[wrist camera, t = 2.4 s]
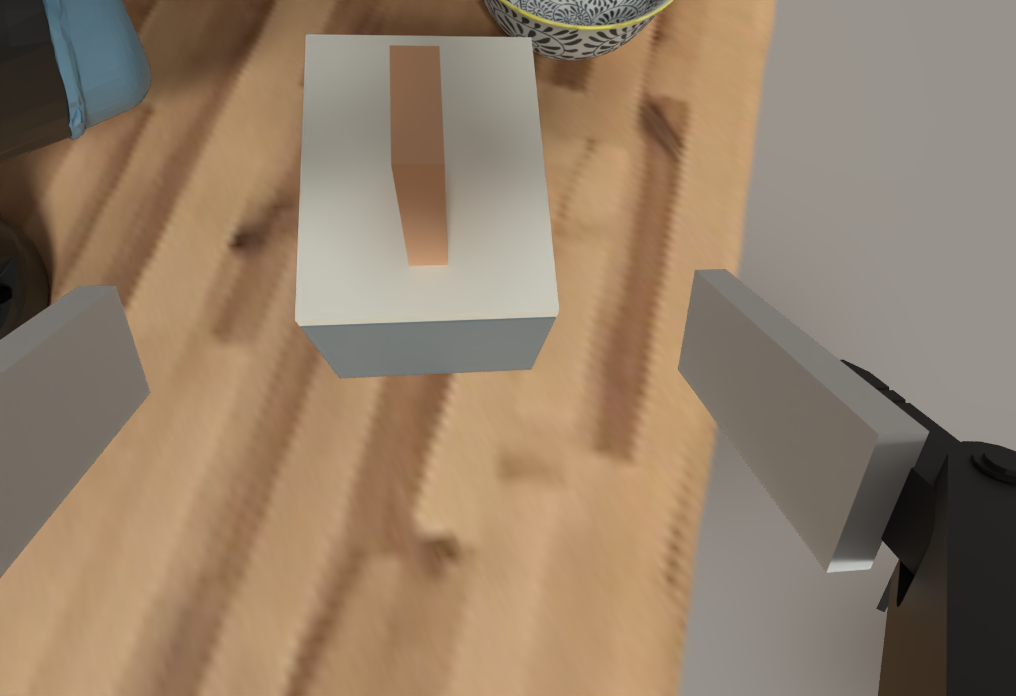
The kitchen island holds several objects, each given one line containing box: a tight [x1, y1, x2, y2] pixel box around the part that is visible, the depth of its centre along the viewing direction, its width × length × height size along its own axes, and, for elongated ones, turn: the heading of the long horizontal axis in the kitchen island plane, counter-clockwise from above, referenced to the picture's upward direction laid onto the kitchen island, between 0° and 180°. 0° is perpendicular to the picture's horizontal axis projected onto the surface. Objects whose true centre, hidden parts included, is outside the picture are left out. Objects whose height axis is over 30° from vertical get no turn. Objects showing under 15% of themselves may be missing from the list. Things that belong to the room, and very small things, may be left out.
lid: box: [295, 34, 559, 326], centre depth 26 cm, size 16×12×9 cm
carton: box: [301, 317, 555, 378], centre depth 35 cm, size 16×12×10 cm
